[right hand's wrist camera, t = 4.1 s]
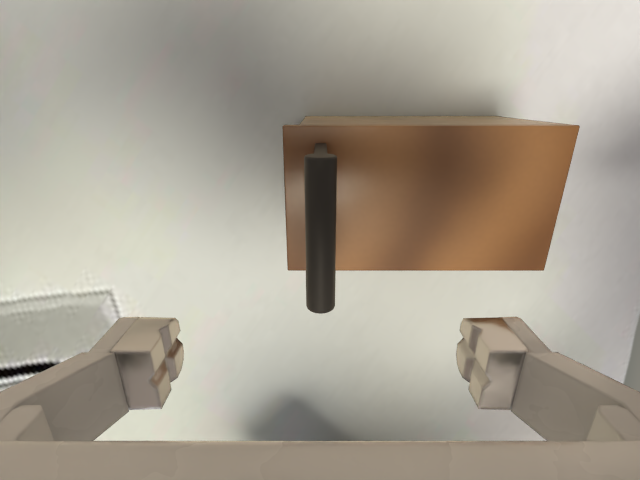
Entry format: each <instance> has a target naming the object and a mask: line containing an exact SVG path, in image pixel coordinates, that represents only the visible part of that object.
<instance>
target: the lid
mask: <svg viewBox="0 0 640 480" xmlns="http://www.w3.org/2000/svg"><path fill="white" fill-rule="evenodd" d="M579 127H580V126H579V125H283V154H284V181H285V208H286V236H287V263H288V270H306V303H307V308H308V309H309V310H310V311H312V312H314V313H327V312H330V311H331V310H333V308H334V306H335V270H544V268H545V263H546V259H547V255H548V251H549V247H550V243H551V239H552V235H553V231H554V227H555V223H556V219H557V215H558V211H559V207H560V203H561V199H562V195H563V191H564V187H565V183H566V179H567V175H568V171H569V167H570V163H571V159H572V155H573V151H574V147H575V143H576V139H577V135H578V131H579Z"/></svg>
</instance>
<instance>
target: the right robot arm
mask: <svg viewBox="0 0 640 480" xmlns="http://www.w3.org/2000/svg"><path fill="white" fill-rule="evenodd" d="M179 332H180V327H179V322H178V320H177V319H176V318H158V317H141V318H140V317H123V318H119V319H118V320H117V322H116V323H115V324H114V325H113V326H112V327H111V328H110V329H109V330H108V331H107V332H106V333H105V335H104V336H103V337H102V338H101V339H100V340H99V341H98V342H97V343H96V344H95V345H94V347H93V348H92V349H91V350H90V351H89V352H84V353H80V354H78V355H76V356H74V357H72V358H70V359H68V360H66V361H64V362H61V363H59V364H57V365H55V366H53V367H51V368H49V369H47V370H45V371H43V372H41V373H39V374H37V375H35V376H32V377H30V378H28V379H26V380H24V381H22V382H20V383H18V384H16V385H14V386H12V387H10V388H8V389H5V390H3V391H1V392H0V480H640V392H638V391H636V390H634V389H632V388H630V387H628V386H626V385H624V384H622V383H620V382H618V381H616V380H614V379H612V378H610V377H607V376H605V375H603V374H601V373H599V372H597V371H595V370H593V369H591V368H589V367H587V366H585V365H583V364H581V363H578V362H576V361H574V360H572V359H570V358H568V357H566V356H564V355H562V354H560V353H557V352H551V351H550V350H549V349H548V348H547V347H546V345H545V344H544V343H543V342H542V341H541V340H540V339H539V338H538V337H537V336H536V335H535V333H534V332H533V331H532V330H531V329H530V328H529V327H528V326H527V325H526V324H525V323H524V321H523V320H522V319H520V318H518V317H499V318H463V320H462V322H461V326H460V332H461V334H462V336H463V337H464V338H463V339H462V340H461V341H460V342H459V343H458V344H457V351H456V357H457V365H458V369H459V372H460V374H461V376H462V378H464V379H465V380H467V381H468V382H470V384H469V391H470V393H471V395H472V397H473V399H474V401H475V403H476V405H477V407H478V409H502V410H511V412H513V413H514V414H515V415H516V416H517V417H519V418H520V419H521V420H522V421H524V422H525V423H526V424H527V425H528V426H530V427H531V428H532V429H533V430H534V431H536V432H537V433H538V434H539V435H541V436H542V437H543V438H544V439H545V440H547V441H93V440H95V439H96V438H97V437H98V436H100V435H101V434H102V433H103V432H104V431H106V430H107V429H108V428H109V427H111V426H112V425H113V424H114V423H115V422H117V421H118V420H119V419H120V418H121V417H123V416H124V415H125V414H126V413H128V412H129V410H137V409H162V407H163V405H164V403H165V401H166V399H167V397H168V395H169V393H170V391H171V384H170V382H172V381H173V380H175V379H176V378H178V376H179V374H180V371H181V369H182V364H183V360H184V350H183V344H182V343H181V342H180V341H179V340H178V339H177V338H176V337H177V336H178V334H179Z"/></svg>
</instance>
